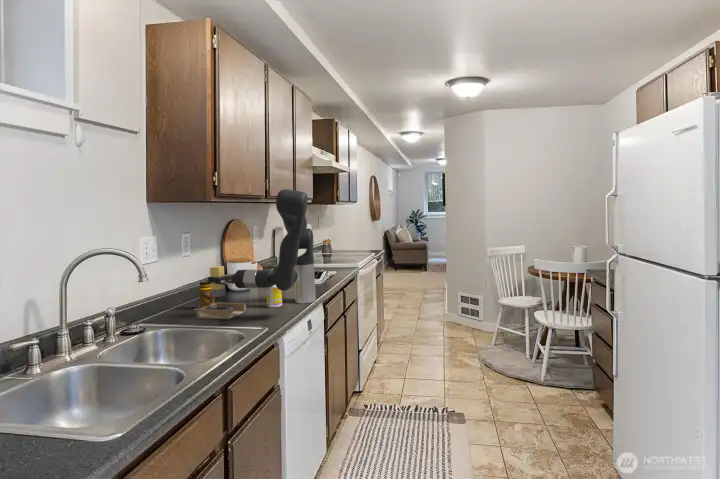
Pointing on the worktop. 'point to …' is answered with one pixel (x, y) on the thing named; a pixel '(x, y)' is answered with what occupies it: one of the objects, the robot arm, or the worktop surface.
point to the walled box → (221, 310)
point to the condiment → (205, 294)
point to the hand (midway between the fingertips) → (211, 279)
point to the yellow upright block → (217, 289)
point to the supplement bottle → (274, 297)
